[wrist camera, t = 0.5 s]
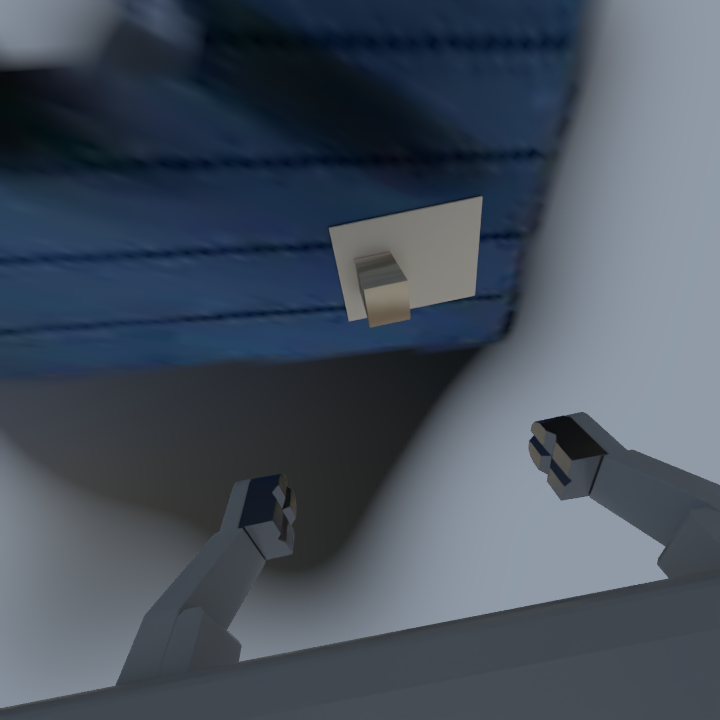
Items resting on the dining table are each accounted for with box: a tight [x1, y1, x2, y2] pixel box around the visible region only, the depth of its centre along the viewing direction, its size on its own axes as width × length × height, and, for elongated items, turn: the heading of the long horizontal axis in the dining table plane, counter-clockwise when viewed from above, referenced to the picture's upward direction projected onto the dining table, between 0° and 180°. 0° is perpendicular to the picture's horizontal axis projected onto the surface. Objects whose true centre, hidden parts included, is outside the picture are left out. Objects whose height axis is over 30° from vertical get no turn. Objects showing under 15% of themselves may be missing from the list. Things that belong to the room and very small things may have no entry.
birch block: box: [354, 251, 411, 327], centre depth 40 cm, size 5×5×10 cm
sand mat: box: [329, 196, 482, 321], centre depth 44 cm, size 14×20×1 cm
